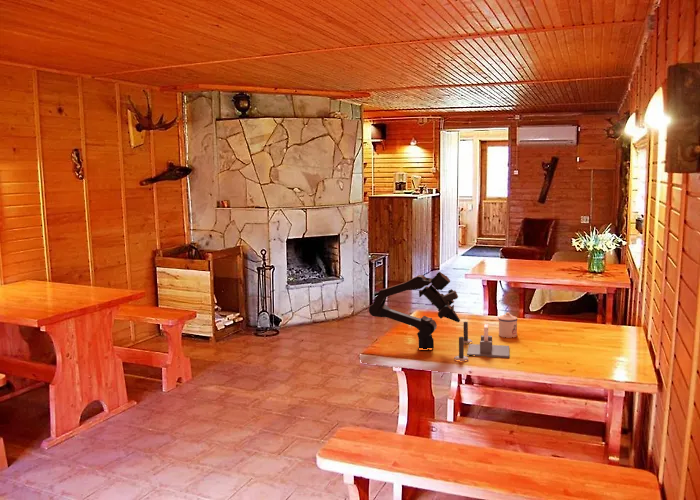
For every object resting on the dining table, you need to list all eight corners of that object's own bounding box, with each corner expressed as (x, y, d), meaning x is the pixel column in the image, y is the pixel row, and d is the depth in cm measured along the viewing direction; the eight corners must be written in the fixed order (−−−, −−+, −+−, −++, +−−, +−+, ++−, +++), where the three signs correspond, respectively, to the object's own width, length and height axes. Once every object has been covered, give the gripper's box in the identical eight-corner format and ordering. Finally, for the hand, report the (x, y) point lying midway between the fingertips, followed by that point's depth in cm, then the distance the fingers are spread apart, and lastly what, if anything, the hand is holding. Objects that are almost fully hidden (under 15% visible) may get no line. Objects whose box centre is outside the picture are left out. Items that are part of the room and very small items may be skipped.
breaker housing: (467, 356, 255) (466, 342, 254) (469, 346, 270) (469, 333, 269) (509, 358, 250) (509, 344, 249) (509, 347, 265) (509, 335, 265)
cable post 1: (454, 362, 247) (454, 339, 246) (453, 357, 253) (453, 335, 252) (469, 362, 246) (469, 339, 245) (467, 357, 252) (467, 335, 251)
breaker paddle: (484, 349, 257) (484, 327, 256) (484, 345, 263) (484, 324, 262) (487, 349, 257) (487, 327, 256) (488, 345, 263) (488, 324, 261)
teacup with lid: (515, 338, 280) (516, 315, 279) (496, 337, 284) (496, 314, 283) (519, 332, 291) (519, 310, 290) (500, 331, 295) (501, 308, 293)
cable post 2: (460, 344, 273) (459, 323, 272) (458, 340, 279) (458, 320, 278) (472, 344, 273) (472, 323, 272) (471, 340, 279) (471, 320, 278)
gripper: (445, 288, 252) (470, 314, 251) (449, 281, 270) (473, 305, 269) (427, 305, 255) (452, 331, 254) (432, 297, 273) (456, 321, 271)
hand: (459, 321), depth 262 cm, fingers closed
